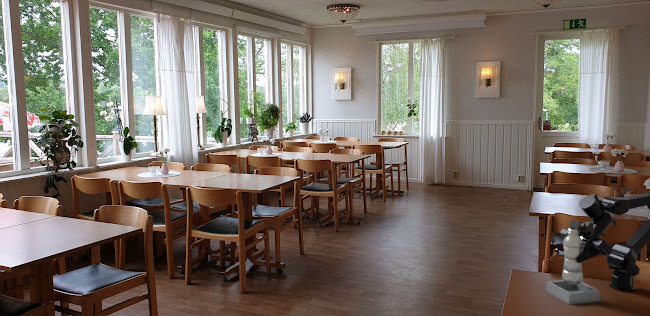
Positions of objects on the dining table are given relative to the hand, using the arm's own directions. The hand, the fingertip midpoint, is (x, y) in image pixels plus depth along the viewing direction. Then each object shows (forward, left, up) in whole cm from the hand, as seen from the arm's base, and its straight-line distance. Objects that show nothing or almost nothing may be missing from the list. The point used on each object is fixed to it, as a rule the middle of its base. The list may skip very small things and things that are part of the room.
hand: (570, 259), depth 175 cm
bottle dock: (-1, 0, -13) cm, 13 cm away
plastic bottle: (-1, 0, -9) cm, 9 cm away
